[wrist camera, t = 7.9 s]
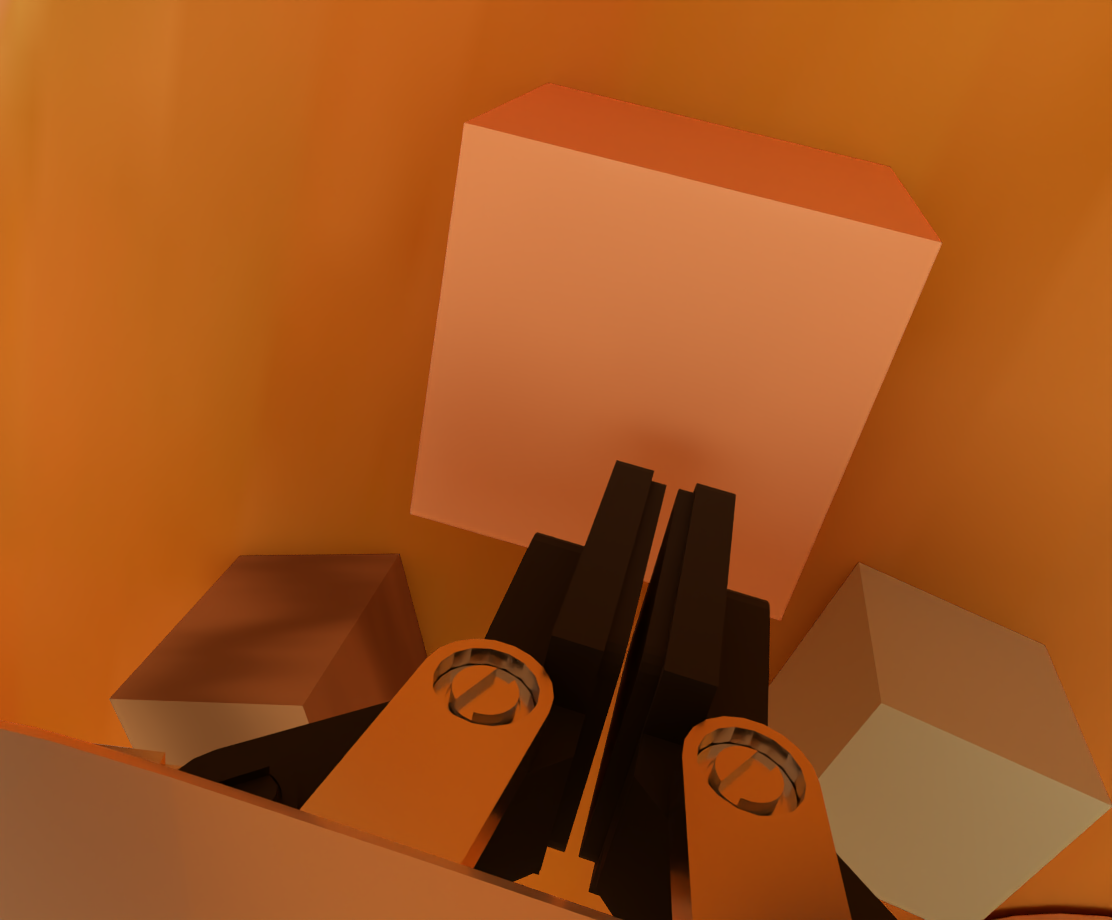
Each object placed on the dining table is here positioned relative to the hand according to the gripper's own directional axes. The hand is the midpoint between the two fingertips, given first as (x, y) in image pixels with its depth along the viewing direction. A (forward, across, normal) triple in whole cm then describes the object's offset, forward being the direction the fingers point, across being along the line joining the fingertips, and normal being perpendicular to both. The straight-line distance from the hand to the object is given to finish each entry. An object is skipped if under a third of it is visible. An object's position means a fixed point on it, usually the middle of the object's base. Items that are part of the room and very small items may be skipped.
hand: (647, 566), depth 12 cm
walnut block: (+9, +8, +11) cm, 16 cm away
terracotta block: (+9, +1, -1) cm, 9 cm away
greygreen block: (+9, -7, +7) cm, 14 cm away
